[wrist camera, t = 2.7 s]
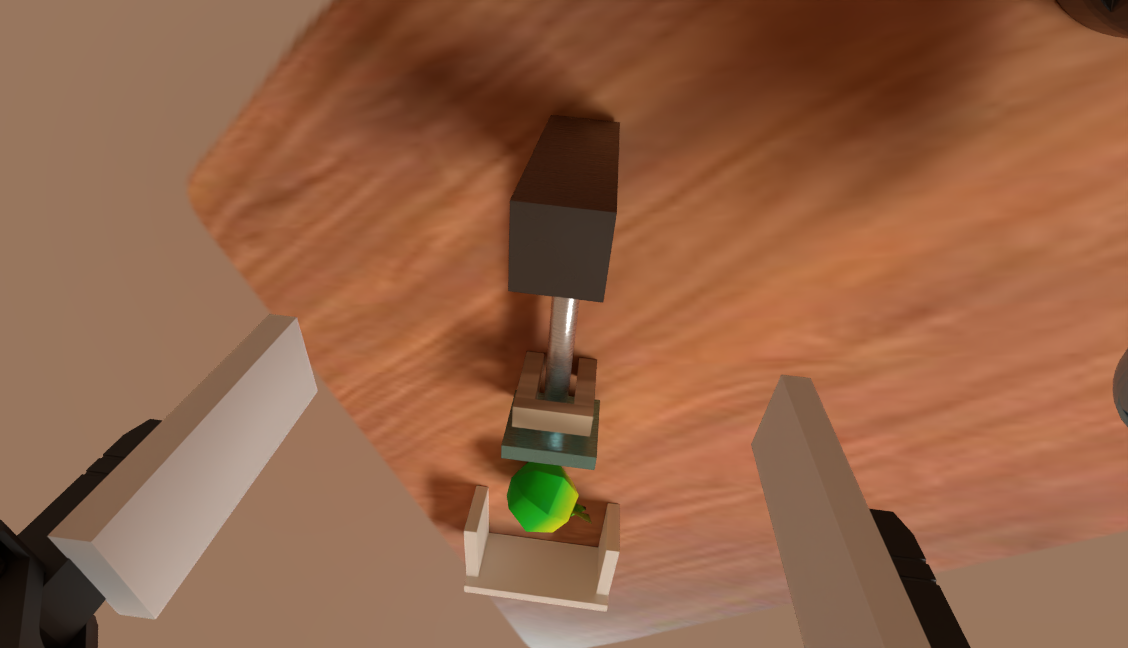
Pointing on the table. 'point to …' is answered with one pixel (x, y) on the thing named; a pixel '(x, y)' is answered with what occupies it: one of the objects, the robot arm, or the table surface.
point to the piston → (563, 262)
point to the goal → (539, 562)
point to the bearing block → (554, 413)
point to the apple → (543, 497)
